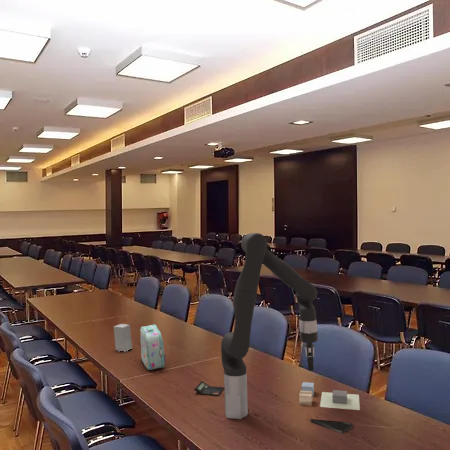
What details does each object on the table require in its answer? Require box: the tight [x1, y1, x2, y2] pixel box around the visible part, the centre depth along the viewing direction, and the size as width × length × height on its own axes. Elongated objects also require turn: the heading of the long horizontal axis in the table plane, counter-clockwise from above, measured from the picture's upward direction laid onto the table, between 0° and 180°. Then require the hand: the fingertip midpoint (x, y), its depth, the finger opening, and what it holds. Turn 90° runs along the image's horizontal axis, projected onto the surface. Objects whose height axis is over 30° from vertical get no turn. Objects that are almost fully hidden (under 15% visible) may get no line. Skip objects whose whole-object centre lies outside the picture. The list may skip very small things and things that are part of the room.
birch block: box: [298, 390, 313, 407], centre depth 195 cm, size 5×5×5 cm
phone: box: [309, 418, 353, 434], centre depth 177 cm, size 8×1×15 cm
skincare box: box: [113, 323, 133, 353], centre depth 280 cm, size 8×7×16 cm
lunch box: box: [139, 324, 166, 371], centre depth 252 cm, size 27×10×21 cm, turn 20°
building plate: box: [319, 391, 361, 411], centre depth 196 cm, size 16×16×1 cm
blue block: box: [301, 381, 315, 397], centre depth 205 cm, size 5×5×5 cm
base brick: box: [332, 389, 348, 404], centre depth 196 cm, size 6×6×3 cm
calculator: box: [193, 380, 225, 397], centre depth 213 cm, size 9×12×3 cm
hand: (310, 367), depth 197 cm, fingers open, 8 cm apart
